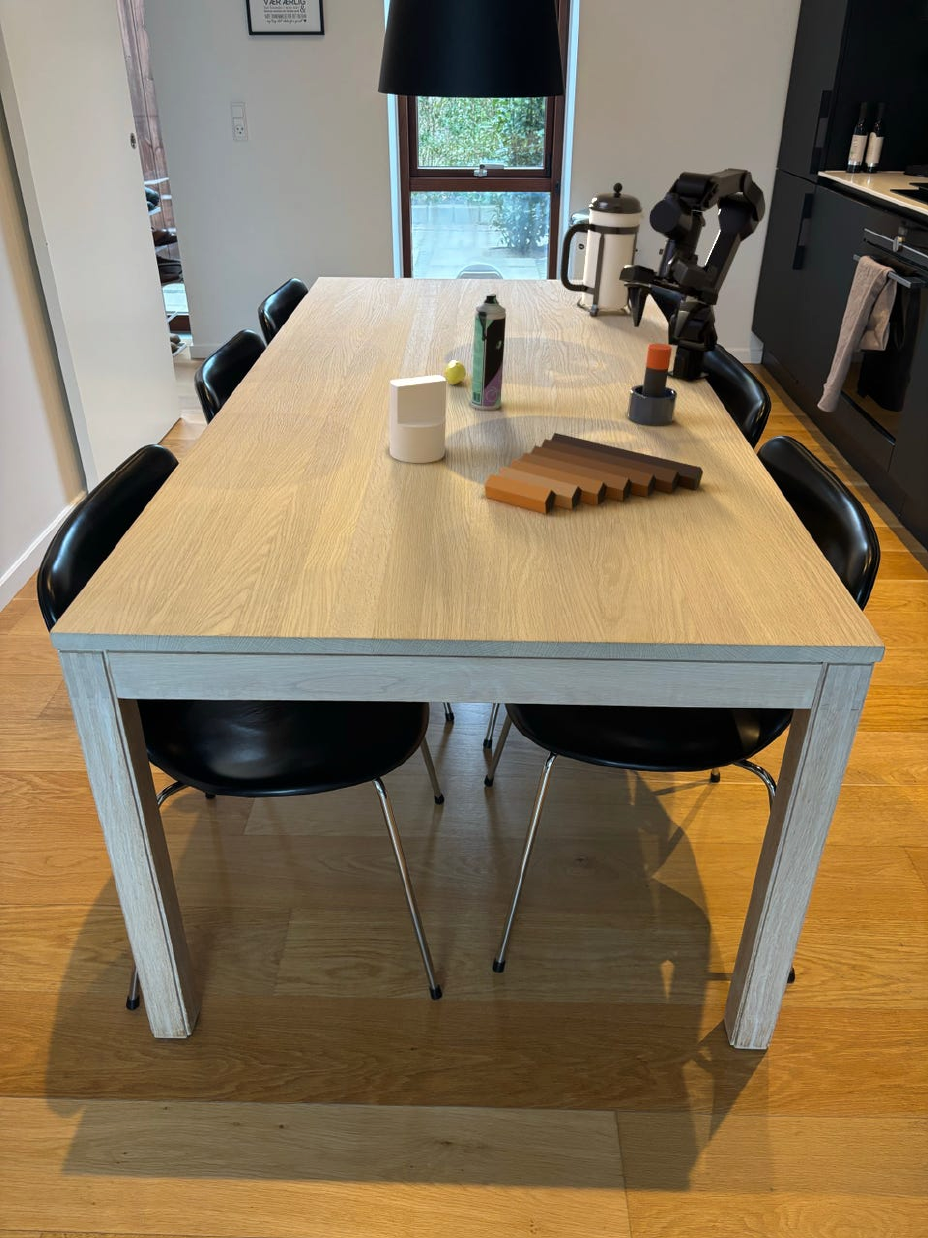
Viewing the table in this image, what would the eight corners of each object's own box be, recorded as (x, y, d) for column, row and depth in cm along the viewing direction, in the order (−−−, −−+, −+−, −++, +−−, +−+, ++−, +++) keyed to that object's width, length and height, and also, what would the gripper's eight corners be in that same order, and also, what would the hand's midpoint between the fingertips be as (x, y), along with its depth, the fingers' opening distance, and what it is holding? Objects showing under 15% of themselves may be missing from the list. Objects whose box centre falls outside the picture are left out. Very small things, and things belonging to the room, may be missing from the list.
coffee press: (589, 300, 255) (602, 176, 240) (643, 310, 247) (660, 183, 232) (555, 311, 243) (566, 181, 227) (611, 323, 235) (626, 189, 220)
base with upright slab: (403, 466, 152) (403, 392, 146) (380, 446, 159) (380, 375, 153) (454, 458, 156) (456, 385, 150) (429, 439, 163) (431, 369, 157)
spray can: (497, 411, 176) (504, 299, 166) (468, 408, 177) (473, 296, 167) (502, 402, 181) (509, 292, 171) (474, 399, 182) (479, 289, 172)
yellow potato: (441, 386, 188) (442, 366, 186) (447, 374, 195) (448, 354, 193) (462, 387, 187) (463, 368, 185) (468, 375, 194) (469, 356, 192)
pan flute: (700, 484, 151) (557, 448, 162) (704, 463, 149) (559, 429, 160) (641, 542, 132) (483, 498, 143) (644, 520, 131) (484, 477, 141)
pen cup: (644, 407, 182) (648, 381, 179) (681, 419, 177) (685, 392, 174) (618, 416, 177) (621, 390, 174) (655, 429, 172) (659, 401, 169)
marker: (638, 410, 178) (647, 342, 172) (660, 411, 178) (670, 344, 172) (640, 417, 175) (649, 349, 168) (662, 419, 175) (673, 350, 168)
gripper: (662, 230, 166) (637, 323, 170) (747, 259, 173) (721, 347, 177) (629, 232, 176) (606, 319, 180) (711, 259, 183) (688, 342, 187)
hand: (656, 332), depth 181 cm, fingers open, 9 cm apart
